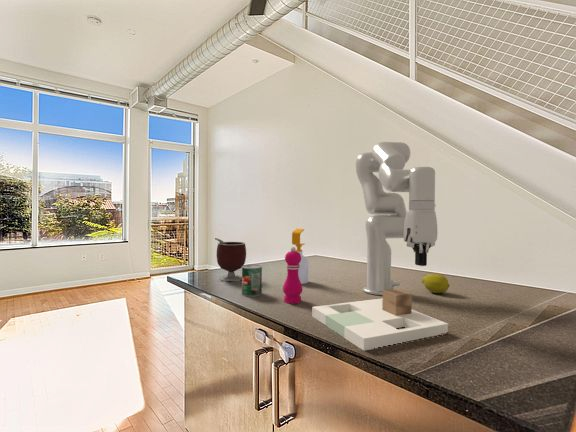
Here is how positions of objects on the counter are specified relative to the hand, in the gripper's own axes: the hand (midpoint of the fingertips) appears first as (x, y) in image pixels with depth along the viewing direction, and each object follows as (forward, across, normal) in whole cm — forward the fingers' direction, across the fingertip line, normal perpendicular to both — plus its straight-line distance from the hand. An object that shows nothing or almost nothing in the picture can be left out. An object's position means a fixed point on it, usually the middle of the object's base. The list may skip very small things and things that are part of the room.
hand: (420, 265), depth 103 cm
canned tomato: (+16, +41, -47) cm, 64 cm away
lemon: (+17, -30, -22) cm, 41 cm away
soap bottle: (+16, +15, -59) cm, 63 cm away
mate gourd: (+16, +43, -76) cm, 88 cm away
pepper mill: (+17, +30, -32) cm, 47 cm away
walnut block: (+14, +9, -1) cm, 16 cm away
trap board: (+17, +17, -1) cm, 24 cm away
